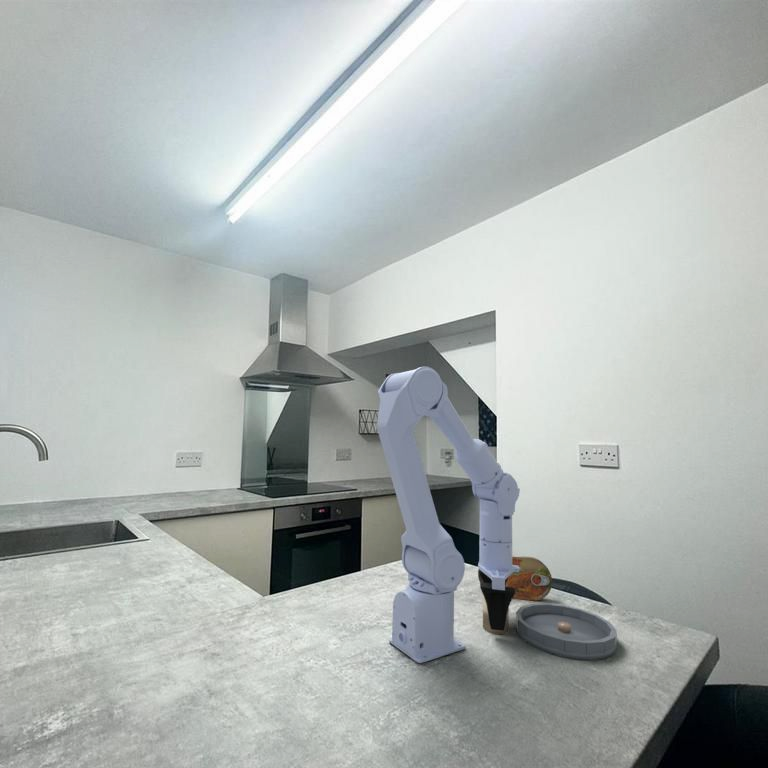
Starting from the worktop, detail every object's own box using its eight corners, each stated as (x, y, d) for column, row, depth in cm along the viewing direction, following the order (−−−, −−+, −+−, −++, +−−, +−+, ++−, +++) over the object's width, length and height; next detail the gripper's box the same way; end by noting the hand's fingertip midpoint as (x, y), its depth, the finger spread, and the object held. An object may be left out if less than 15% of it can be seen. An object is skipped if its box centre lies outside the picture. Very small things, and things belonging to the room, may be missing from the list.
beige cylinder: (496, 636, 70) (496, 598, 71) (477, 626, 74) (477, 590, 75) (514, 630, 73) (513, 594, 74) (494, 621, 77) (494, 586, 77)
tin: (477, 594, 90) (478, 553, 91) (478, 589, 93) (478, 549, 94) (552, 603, 86) (552, 561, 87) (550, 598, 89) (550, 557, 90)
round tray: (581, 670, 61) (580, 651, 61) (497, 628, 73) (497, 613, 74) (635, 645, 69) (634, 628, 69) (551, 611, 82) (551, 598, 82)
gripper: (524, 551, 68) (524, 641, 66) (514, 532, 82) (514, 606, 80) (479, 547, 69) (478, 635, 67) (477, 530, 83) (476, 602, 81)
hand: (495, 619), depth 74 cm, fingers open, 7 cm apart
